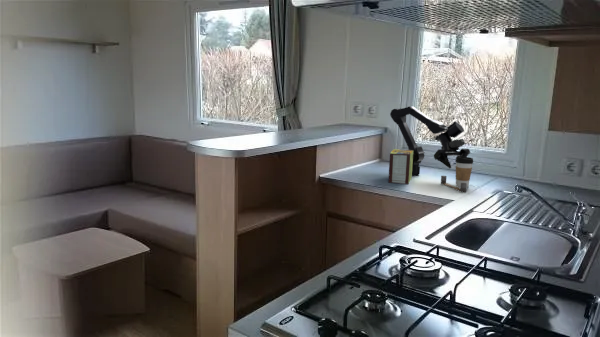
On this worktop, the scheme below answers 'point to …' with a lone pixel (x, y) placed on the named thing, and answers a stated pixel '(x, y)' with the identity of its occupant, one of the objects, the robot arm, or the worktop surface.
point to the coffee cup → (463, 170)
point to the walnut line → (443, 181)
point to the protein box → (400, 166)
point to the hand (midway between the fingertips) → (458, 167)
